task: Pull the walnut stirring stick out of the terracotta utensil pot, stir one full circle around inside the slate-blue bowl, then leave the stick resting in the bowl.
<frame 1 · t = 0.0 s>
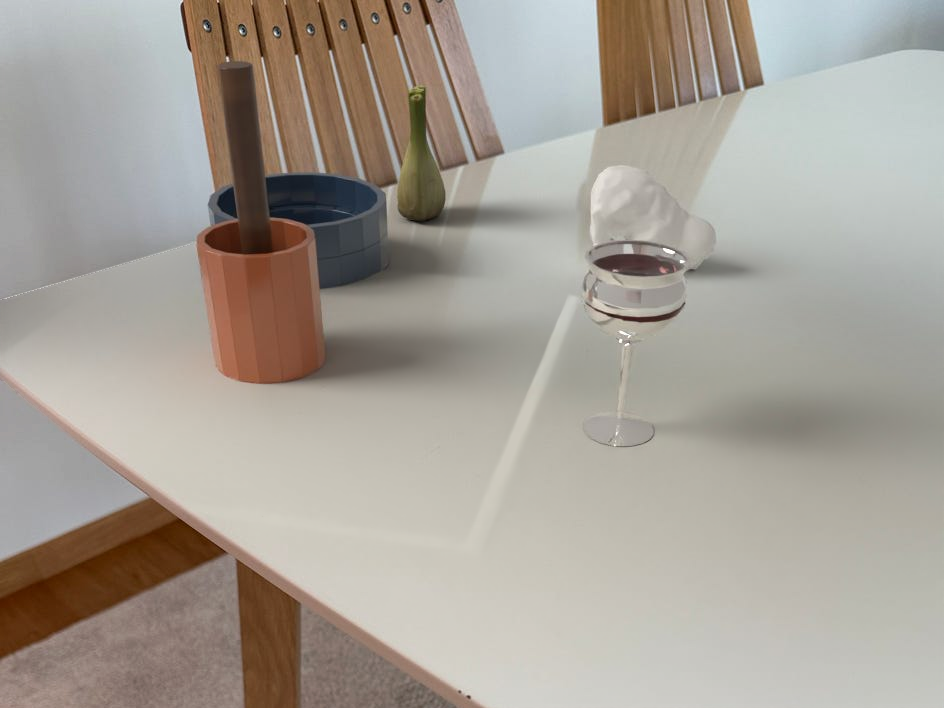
stirring stick: (270, 358, 79), point 1 cm above the table, touching utensil pot
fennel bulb: (422, 219, 108), on the table
bowl: (304, 265, 96), on the table
utensil pot: (272, 368, 80), on the table
wineglass: (618, 431, 74), on the table
lumpy white blob: (647, 268, 98), on the table
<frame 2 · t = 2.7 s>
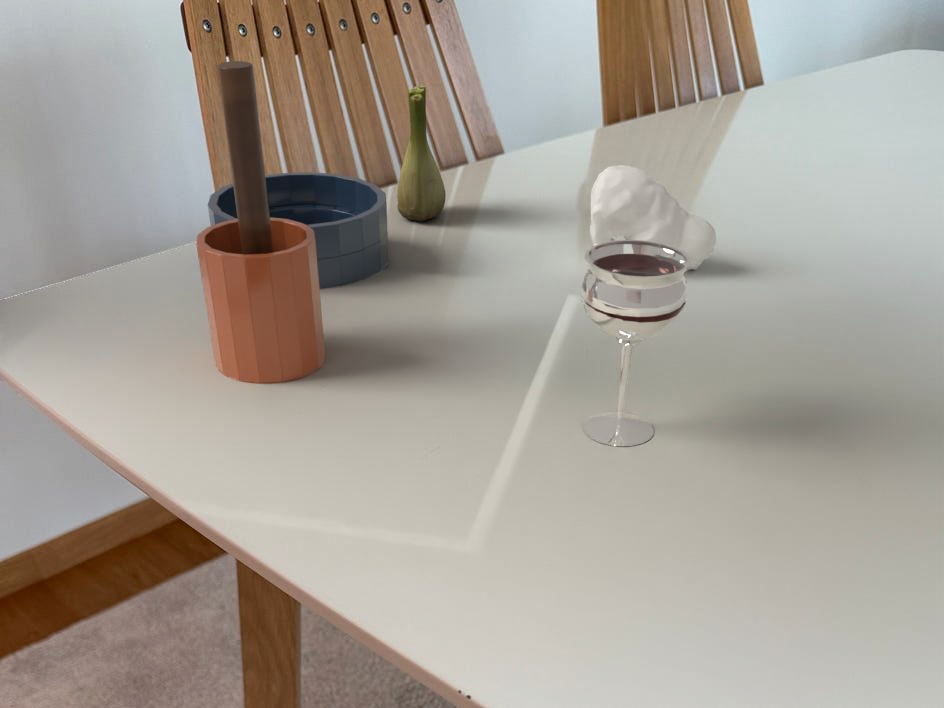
nothing on the table moved.
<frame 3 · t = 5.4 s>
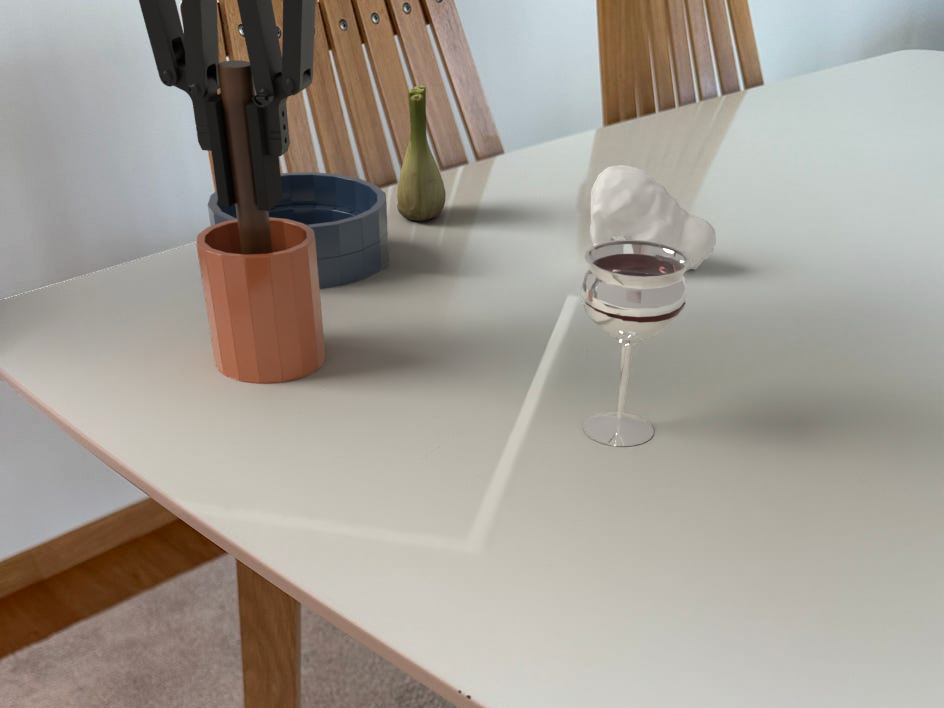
hand: (251, 201, 72), 12 cm above the table, tool pointing down, fingers closed on stirring stick, 2 cm apart
stirring stick: (270, 358, 79), point 1 cm above the table, touching gripper
everything else where it was.
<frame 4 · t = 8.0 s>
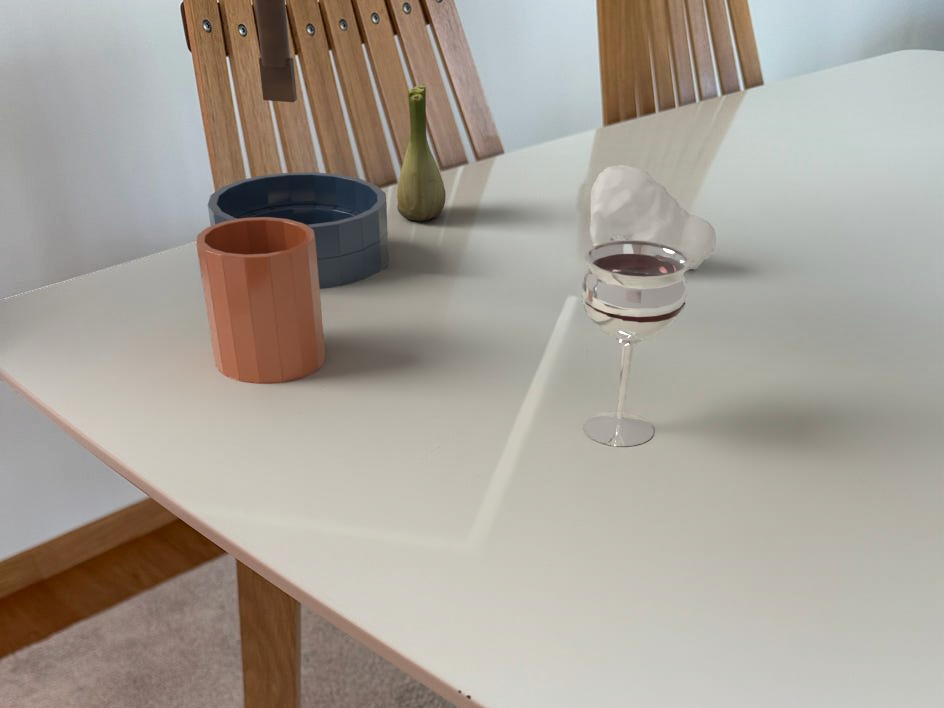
stirring stick: (280, 100, 83), point 15 cm above the table, touching gripper
everything else where it was.
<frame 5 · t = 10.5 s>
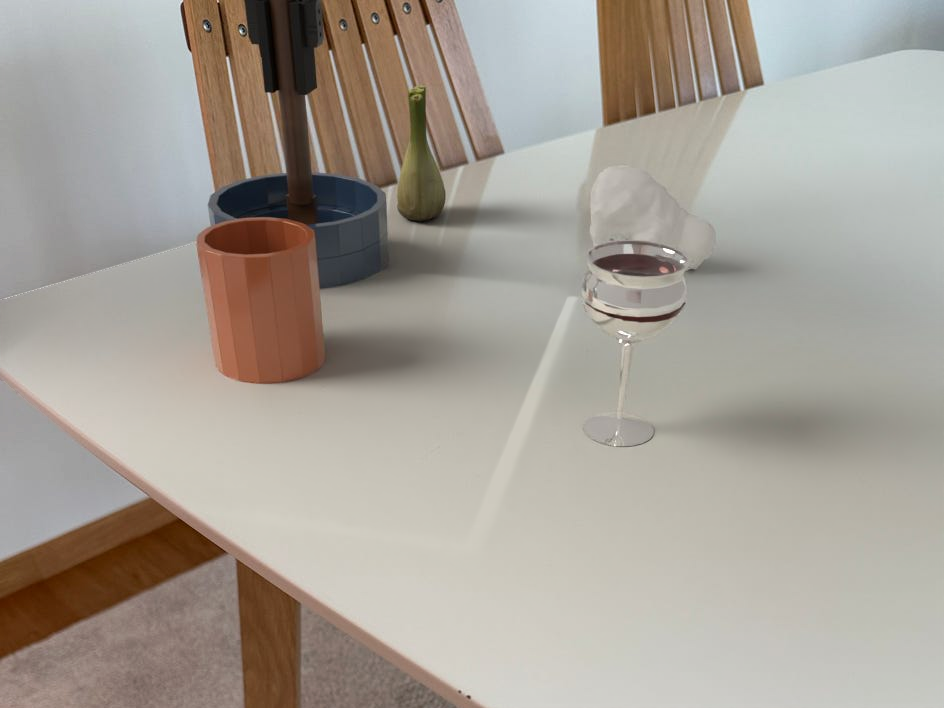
hand: (291, 89, 87), 15 cm above the table, tool pointing down, fingers closed on stirring stick, 2 cm apart
stirring stick: (304, 229, 94), point 3 cm above the table, touching gripper
everything else where it was.
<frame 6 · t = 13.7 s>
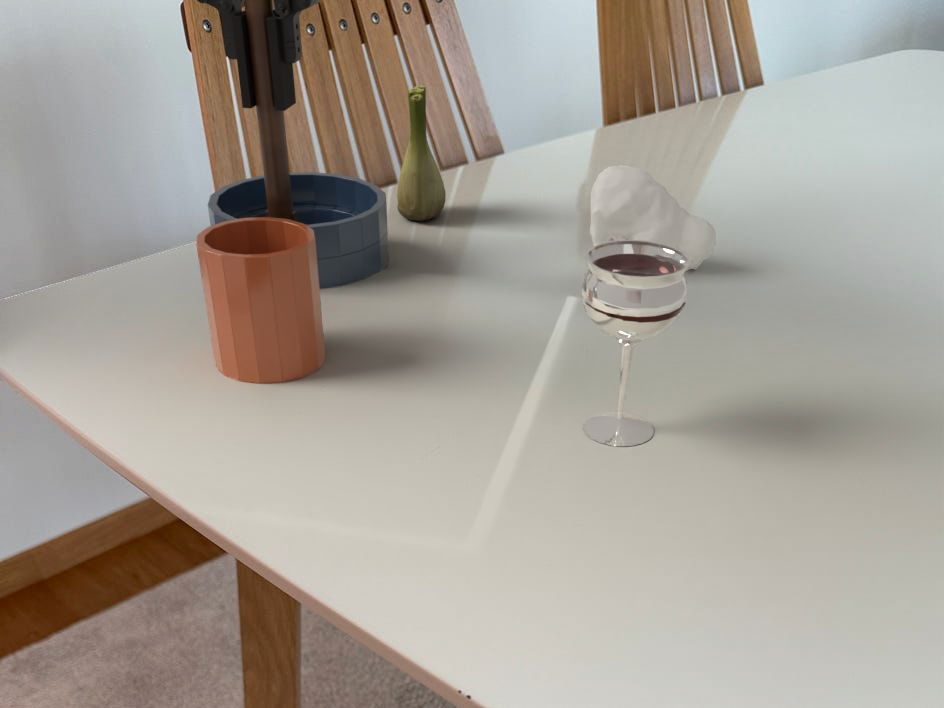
hand: (269, 104, 86), 14 cm above the table, tool pointing down, fingers closed on stirring stick, 2 cm apart
stirring stick: (284, 245, 93), point 3 cm above the table, touching gripper
everything else where it was.
when the fingers open (12 cm above the table, at t = 16.0 s): stirring stick stays where it is, resting on bowl.
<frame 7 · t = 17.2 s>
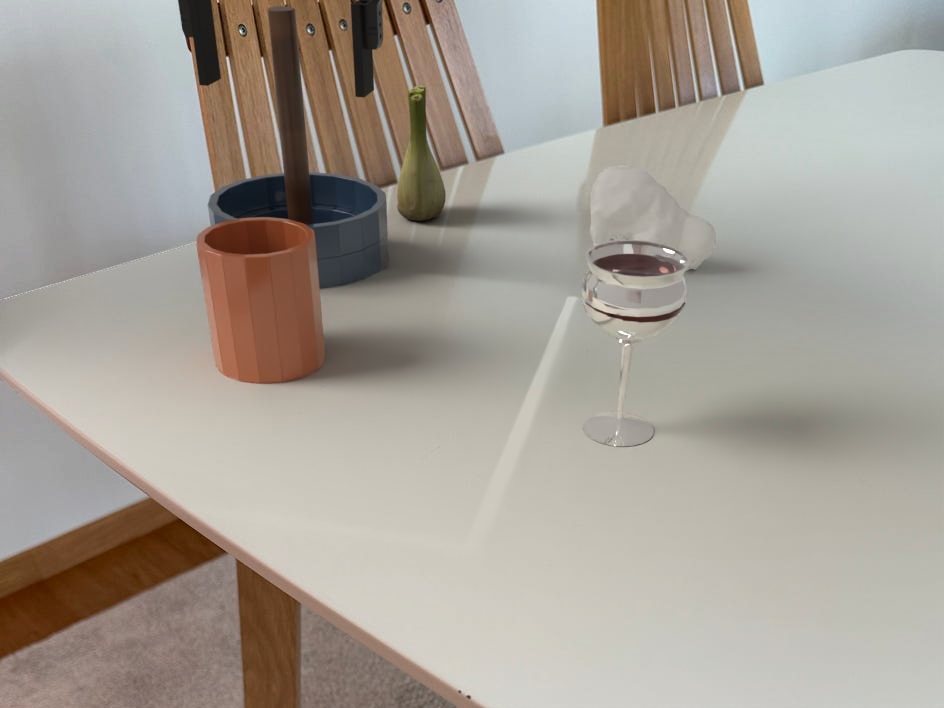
hand: (286, 88, 87), 15 cm above the table, tool pointing down, fingers open, 13 cm apart
stirring stick: (304, 259, 96), point 1 cm above the table, touching bowl
everything else where it was.
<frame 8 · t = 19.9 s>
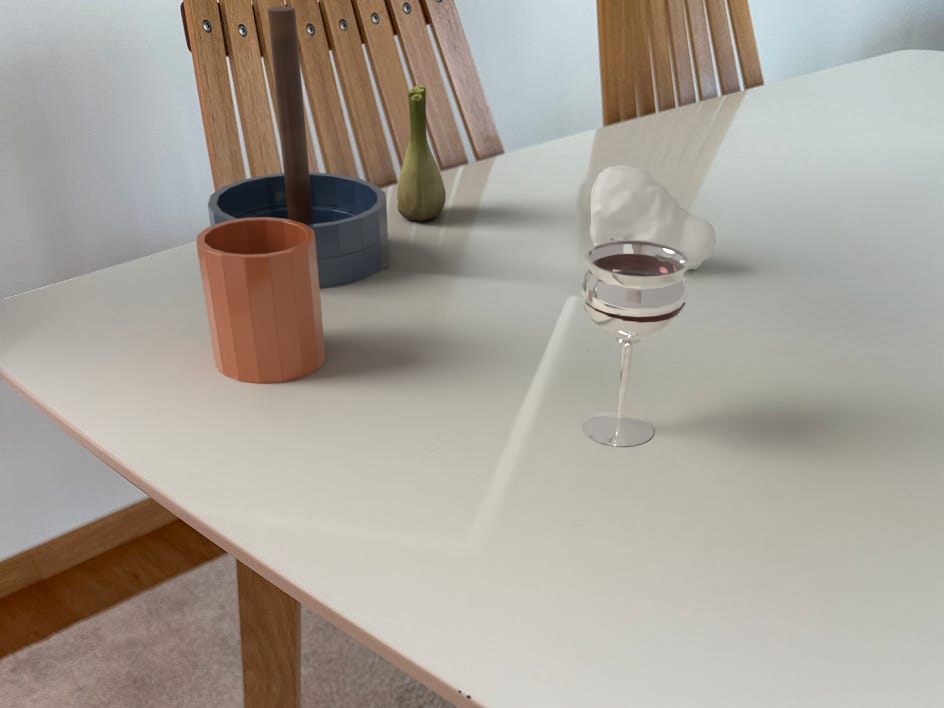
nothing on the table moved.
at the end: stirring stick inside the target area in the bowl (0.1 cm from its centre), point 0.6 cm above the bowl's base; the gripper is holding nothing; stirring stick moved 21.6 cm from its start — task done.
